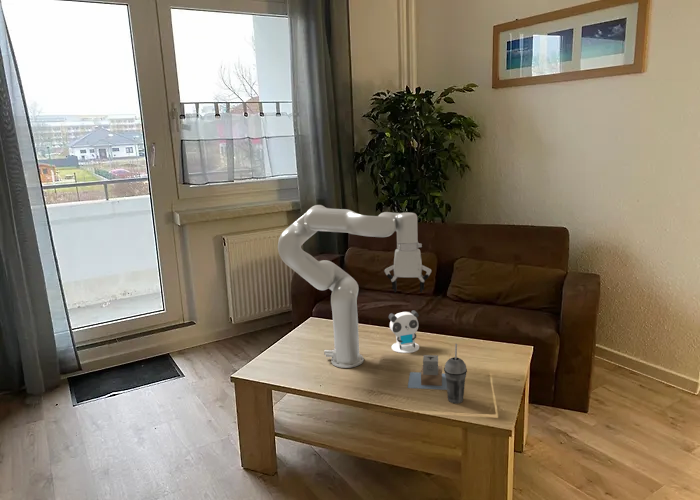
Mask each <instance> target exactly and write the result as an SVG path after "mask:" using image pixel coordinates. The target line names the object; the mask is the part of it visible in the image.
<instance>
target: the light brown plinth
mask: <svg viewBox="0 0 700 500" xmlns="http://www.w3.org/2000/svg"><path fill="white" fill-rule="evenodd" d="M420 372H421V385H433V386H442V373H443V366H442V365H438V375H423V364H422V365H421V371H420Z"/></svg>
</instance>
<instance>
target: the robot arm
mask: <svg viewBox="0 0 700 500" xmlns="http://www.w3.org/2000/svg"><path fill="white" fill-rule="evenodd" d="M318 232H331V233H348V234H349V235H357V236H361V237H362V236H363V237H371V238H372V237H373V238H374V237H375V238H387V237H390V236H392V235H393V234H394V233H395V232H396V249H395V250H394V258H393V264H392V265H390V266H389V267H386V268H385V269H384V271H383V272H384V273H385V275H386V277H387V278H388V279H389V280H390V281H391V289H392V290H393V293H396V292H397V290H398V289H397V282H398V281H397V279H398V278H418V280H419V281H420V282H419V293H421V294H422V293H423V291H424V290H425V281H427V280H428V278H429V277H430V275H431V273H432V271H433V270H432V269H431V268H429V267H427V266H425V265H423V264H422V255H421V254H422V253H421V250H420V249H419V248H422V247H423V246H422V245H423V244H422V243H419V241H418V215H417V214H416V213H415V212H408V211H407V212H390V211H384V212H381V213H380V214H378V215H366V214H360V213H358V212H355V211H353V210H351V209H346V208H341V209H340V208H330V207H325V206H324V205H322V204H315V205H313V206H311V207H310V208H309V209H307V211H306V212H305V213H303V215H302V216H300V217H299V218H298V219H296V220H295V221H294V222H293V223H291V224H290V225H289V226H288V227H286V229H284V230H283V231H282V233H280V236H279V238H278V243H277V251H278V255H279V257H280V259H281V260H282V262H283V263H284V264H285V265H286V266H287V267H289V269H292V271H294V272H295V273H296V274H298V276H300V278H302V279H304V280H305V281H306V282H308V283H309V284H310V285H311V286H312V287H314V288H315V289H317V290H319V291H326V290H328V289H329V290H330V291H331V295H330V306H331V311H332V312H331V313H332V326H333V342H334V343H333V345H334V349H332V350H331V349H324V351H323V353H324V356H325V358H330V359H331V360H330V361H331V364H332V365H333V366H335V367H337V368H342V369H352V368H355V367H358V366H360V365H362V364H363V363H364V360H365V359H364V356H363V354H361V353H360V339H359V336H360V335H359V318H358V316H359V315H358V304H357V300H358V295H359V289H360V288H359V284H358V282H357V281H356V280H355V278H354V277H352V276H351V275H350V274H349V273H348V272H346V271H345V270H344V269H342V268H341V267H340V266H338V265H337V264H335V263H334V262H332V261H330V260H326V259H325V260H324V259H323V260H317V259H316V257H315V258H314V256H313V255H311V254H310V253H308V252H306V251H304V249H302V246H303V244H305V242H306V241H308V240H309V239H310V238H311V237H312V236H314V235H315V234H316V233H318ZM391 271H393V275H392V274H391V273H390V272H391ZM423 271H425V272H426V273H425V275H423V274H422V273H423Z"/></svg>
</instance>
